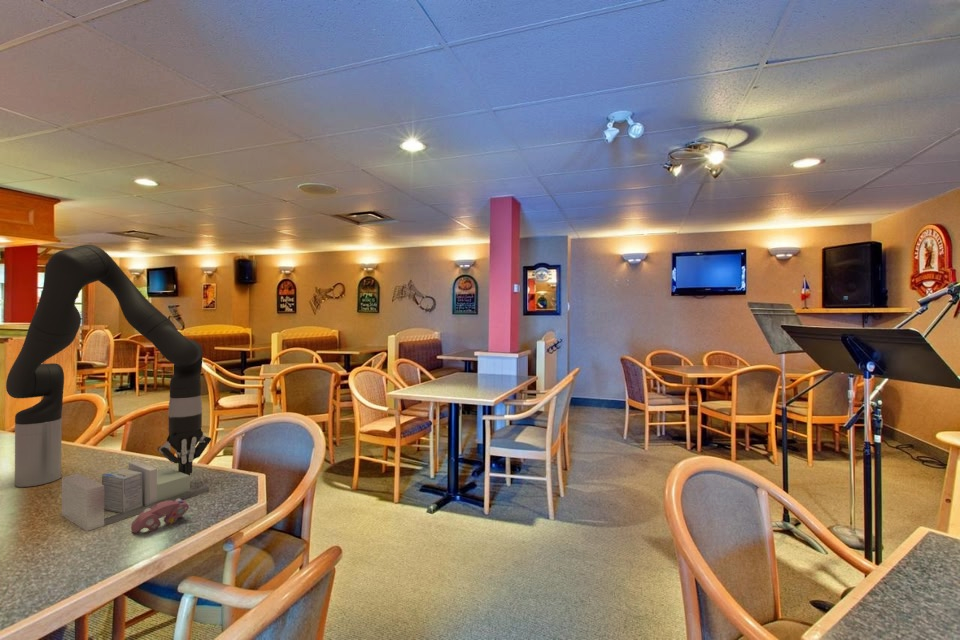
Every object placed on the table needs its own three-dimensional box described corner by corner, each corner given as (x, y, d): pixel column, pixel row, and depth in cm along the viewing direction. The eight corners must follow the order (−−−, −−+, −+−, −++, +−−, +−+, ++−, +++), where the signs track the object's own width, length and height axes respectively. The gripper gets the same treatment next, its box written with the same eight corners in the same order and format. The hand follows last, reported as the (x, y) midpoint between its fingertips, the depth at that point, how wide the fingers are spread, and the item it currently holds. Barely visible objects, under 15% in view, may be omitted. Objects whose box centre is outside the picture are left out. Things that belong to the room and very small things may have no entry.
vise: (61, 515, 101) (61, 477, 101) (181, 480, 123) (181, 449, 123) (86, 531, 94) (87, 490, 94) (209, 491, 116) (209, 457, 116)
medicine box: (143, 507, 106) (143, 471, 106) (123, 514, 102) (123, 478, 102) (121, 502, 108) (121, 468, 108) (101, 509, 104) (101, 474, 104)
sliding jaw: (128, 497, 111) (128, 462, 111) (167, 485, 119) (167, 453, 119) (149, 507, 105) (150, 470, 105) (189, 494, 113) (189, 460, 113)
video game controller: (135, 544, 91) (142, 518, 90) (127, 529, 94) (134, 504, 92) (186, 525, 100) (194, 501, 98) (178, 512, 102) (185, 488, 100)
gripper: (203, 406, 125) (203, 466, 125) (150, 415, 113) (150, 481, 113) (218, 409, 121) (217, 471, 121) (164, 419, 110) (164, 486, 110)
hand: (185, 475), depth 117 cm, fingers closed
